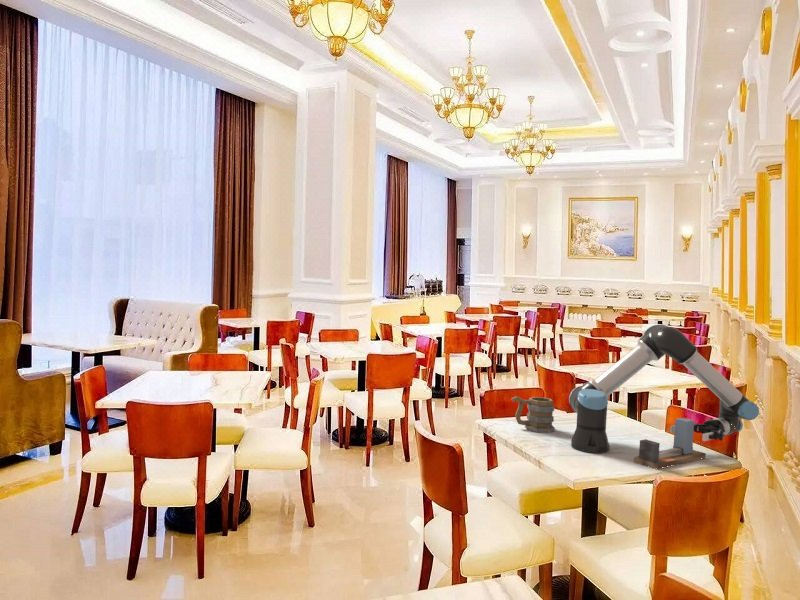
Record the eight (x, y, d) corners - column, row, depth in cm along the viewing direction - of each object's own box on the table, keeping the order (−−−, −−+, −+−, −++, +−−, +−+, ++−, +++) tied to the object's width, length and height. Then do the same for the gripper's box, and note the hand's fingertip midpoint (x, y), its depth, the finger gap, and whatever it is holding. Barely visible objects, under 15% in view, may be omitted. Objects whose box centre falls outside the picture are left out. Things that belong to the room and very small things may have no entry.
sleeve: (672, 450, 246) (674, 418, 246) (680, 449, 249) (682, 417, 248) (685, 454, 242) (687, 421, 241) (692, 452, 245) (694, 420, 244)
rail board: (634, 462, 236) (635, 439, 236) (682, 451, 254) (683, 430, 254) (657, 469, 228) (658, 445, 228) (705, 458, 246) (707, 436, 245)
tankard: (550, 426, 289) (551, 394, 288) (556, 433, 276) (558, 400, 275) (507, 424, 289) (509, 393, 289) (512, 431, 277) (513, 398, 276)
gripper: (745, 444, 247) (716, 450, 235) (687, 429, 268) (658, 435, 256) (746, 425, 247) (718, 431, 235) (688, 412, 267) (659, 417, 256)
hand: (686, 433), depth 245 cm, fingers open, 13 cm apart
